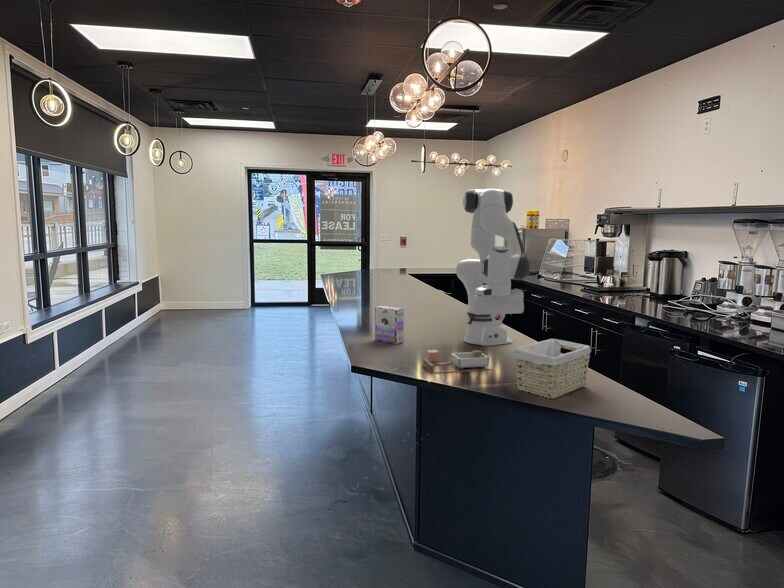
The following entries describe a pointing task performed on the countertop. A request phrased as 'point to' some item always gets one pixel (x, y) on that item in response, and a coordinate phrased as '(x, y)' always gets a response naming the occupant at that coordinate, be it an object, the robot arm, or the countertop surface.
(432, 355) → the block
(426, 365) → the track
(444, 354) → the countertop surface
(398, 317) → the candy box
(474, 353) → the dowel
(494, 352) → the countertop surface
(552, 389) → the storage basket
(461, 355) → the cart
